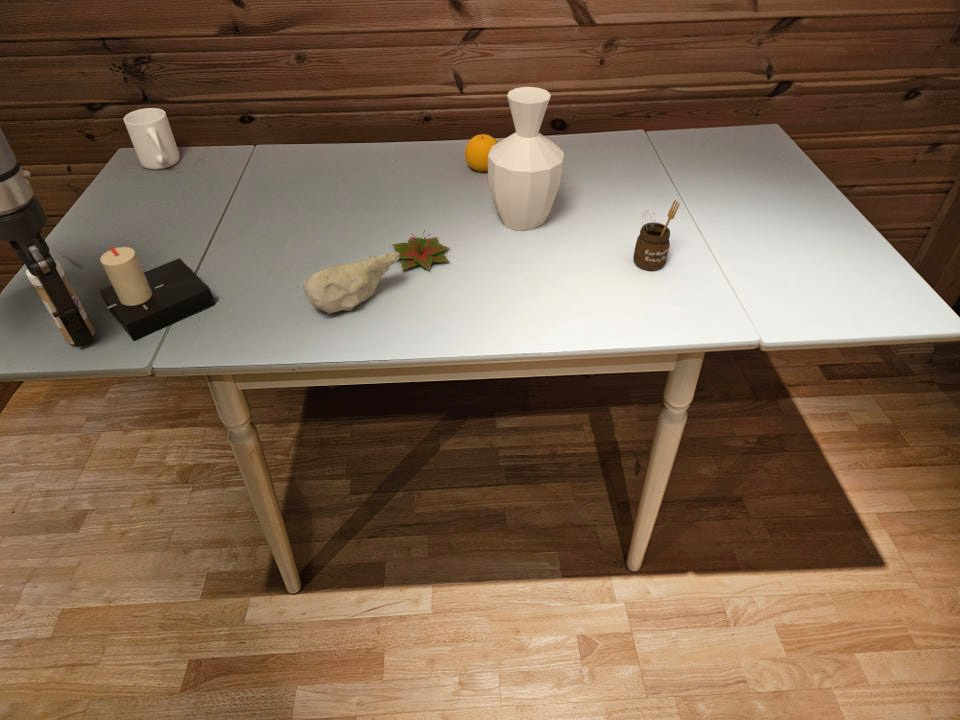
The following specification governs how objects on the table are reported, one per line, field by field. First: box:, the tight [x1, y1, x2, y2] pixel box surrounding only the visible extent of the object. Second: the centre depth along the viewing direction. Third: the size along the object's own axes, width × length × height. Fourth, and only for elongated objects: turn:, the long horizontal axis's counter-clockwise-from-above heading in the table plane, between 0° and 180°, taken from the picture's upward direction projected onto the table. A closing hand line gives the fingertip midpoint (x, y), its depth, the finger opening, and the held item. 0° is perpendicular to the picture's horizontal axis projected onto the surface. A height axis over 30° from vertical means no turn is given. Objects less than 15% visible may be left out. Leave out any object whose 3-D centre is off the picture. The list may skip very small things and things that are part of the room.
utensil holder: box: [633, 199, 681, 272], centre depth 116 cm, size 6×6×12 cm
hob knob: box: [100, 246, 152, 306], centre depth 105 cm, size 5×5×8 cm
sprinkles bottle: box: [25, 259, 96, 345], centre depth 100 cm, size 5×5×13 cm
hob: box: [98, 257, 216, 342], centre depth 110 cm, size 15×12×4 cm
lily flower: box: [391, 230, 450, 272], centre depth 121 cm, size 12×12×5 cm
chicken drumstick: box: [301, 251, 400, 315], centre depth 110 cm, size 15×7×15 cm
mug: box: [123, 107, 181, 171], centre depth 145 cm, size 9×12×11 cm
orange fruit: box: [464, 133, 499, 172], centre depth 145 cm, size 8×8×8 cm
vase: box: [487, 86, 565, 232], centre depth 123 cm, size 14×14×25 cm
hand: (78, 333), depth 104 cm, fingers closed on sprinkles bottle, 4 cm apart
